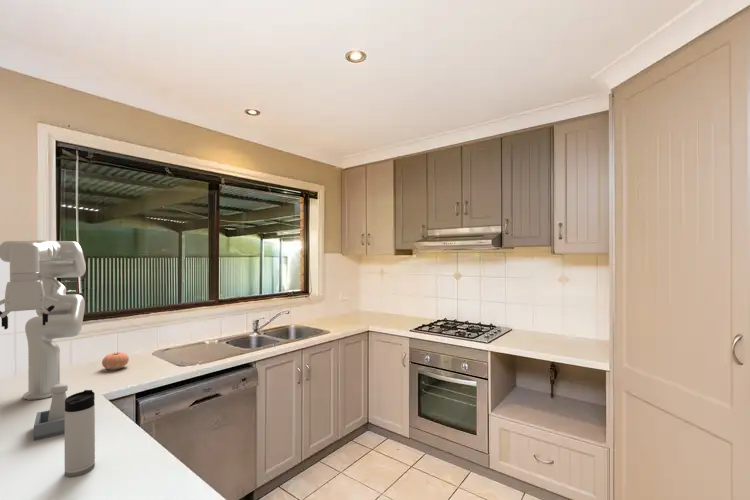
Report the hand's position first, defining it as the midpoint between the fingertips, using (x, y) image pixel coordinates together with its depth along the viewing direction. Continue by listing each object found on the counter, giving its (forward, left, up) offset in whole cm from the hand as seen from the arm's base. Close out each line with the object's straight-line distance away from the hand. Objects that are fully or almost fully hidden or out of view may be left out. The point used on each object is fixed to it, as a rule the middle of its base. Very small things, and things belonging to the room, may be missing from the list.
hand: (25, 326), depth 129 cm
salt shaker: (+18, +9, -31) cm, 37 cm away
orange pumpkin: (-44, +29, -32) cm, 62 cm away
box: (+18, +10, -32) cm, 37 cm away
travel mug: (+52, +15, -32) cm, 62 cm away
